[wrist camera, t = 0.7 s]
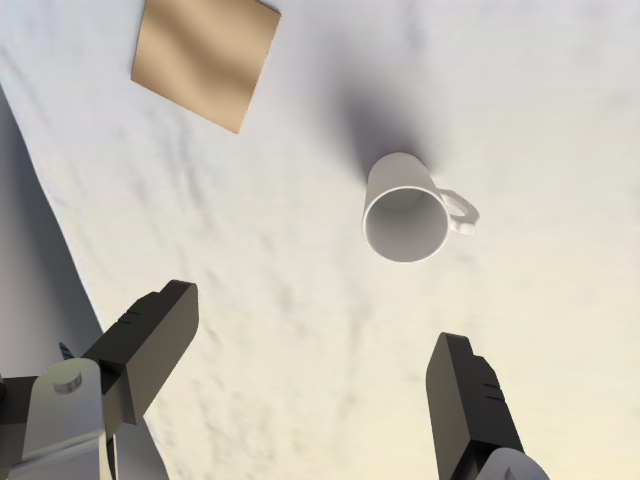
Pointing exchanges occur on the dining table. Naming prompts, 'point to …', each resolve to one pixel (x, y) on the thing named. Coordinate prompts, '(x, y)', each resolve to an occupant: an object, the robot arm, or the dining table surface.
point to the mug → (410, 211)
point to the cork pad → (205, 54)
